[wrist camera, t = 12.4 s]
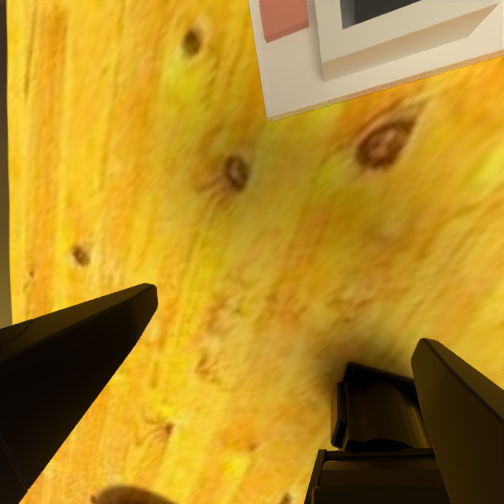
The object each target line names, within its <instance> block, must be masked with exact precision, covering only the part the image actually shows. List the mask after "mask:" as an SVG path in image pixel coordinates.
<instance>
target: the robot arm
mask: <svg viewBox="0 0 504 504" xmlns="http://www.w3.org/2000/svg"><path fill="white" fill-rule="evenodd" d="M157 307H158V297H157V288H156V286H155V285H153V284H148V283H143V284H139V285H136V286H133V287H130V288H127V289H124V290H121V291H118V292H114V293H111V294H108V295H105V296H102V297H99V298H96V299H93V300H90V301H86V302H83V303H80V304H77V305H74V306H71V307H68V308H65V309H61V310H58V311H55V312H52V313H49V314H46V315H43V316H40V317H37V318H35V319H34V320H33V319H30V320H27V321H24V322H21V323H18V324H14V325H11V326H8V327H5V328H2V329H0V504H19V503H20V501H21V500H22V499H23V497H24V496H25V494H26V493H27V492H28V489H29V488H30V487H31V486H32V485H33V483H34V482H35V481H36V479H37V478H38V476H39V475H40V474H41V472H42V471H43V470H44V468H45V467H46V466H47V464H48V463H49V462H50V460H51V459H52V458H53V456H54V455H55V453H56V452H57V451H58V449H59V448H60V447H61V445H62V444H63V443H64V441H65V440H66V439H67V437H68V436H69V435H70V433H71V432H72V430H73V429H74V428H75V426H76V425H77V424H78V422H79V421H80V420H81V418H82V417H83V416H84V414H85V413H86V411H87V410H88V409H89V407H90V406H91V405H92V403H93V402H94V401H95V399H96V398H97V397H98V395H99V394H100V393H101V391H102V390H103V388H104V387H105V386H106V384H107V383H108V382H109V380H110V379H111V378H112V376H113V375H114V374H115V372H116V371H117V370H118V368H119V367H120V365H121V364H122V363H123V361H124V360H125V359H126V357H127V356H128V355H129V353H130V352H131V351H132V349H133V348H134V346H135V345H136V343H137V342H138V340H139V339H140V337H141V335H142V334H143V332H144V330H145V328H146V327H147V325H148V323H149V322H150V320H151V318H152V317H153V315H154V313H155V312H156V310H157ZM411 366H412V371H413V376H414V380H411V379H408V378H404V377H401V376H398V375H394V374H391V373H387V372H384V371H380V370H377V369H373V368H370V367H367V366H363V365H360V364H356V363H352V362H350V363H347V365H346V367H345V371H344V374H343V378H342V381H341V382H338V383H336V387H335V391H334V394H333V398H332V402H331V444H332V446H334V447H336V448H338V451H327V450H326V449H320V450H319V451H318V454H317V458H316V461H315V465H314V468H313V472H312V476H311V479H310V483H309V487H308V490H307V494H306V498H305V501H304V504H504V390H503V389H502V388H500V387H499V386H498V385H496V384H495V383H494V382H492V381H491V380H490V379H488V378H487V377H486V376H484V375H483V374H481V373H480V372H479V371H477V370H476V369H475V368H473V367H472V366H471V365H469V364H468V363H467V362H465V361H464V360H463V359H461V358H460V357H459V356H457V355H456V354H455V353H453V352H452V351H451V350H449V349H448V348H447V347H445V346H444V345H443V344H441V343H440V342H438V341H437V340H433V339H428V338H421V339H420V340H419V342H418V344H417V346H416V348H415V351H414V353H413V355H412V358H411ZM350 368H354V370H351V369H350Z"/></svg>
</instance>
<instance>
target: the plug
mask: <svg viewBox="0 0 504 504" xmlns="http://www.w3.org/2000/svg"><path fill="white" fill-rule="evenodd" d="M418 1H421V0H354V4H355V16H356V25H357V24H359V23H362V22H365V21H367V20H370V19H373V18H375V17H378V16H381V15H383V14H386V13H389V12H391V11H394V10H397V9H399V8H402V7H405V6H408V5H410V4H413V3H416V2H418Z"/></svg>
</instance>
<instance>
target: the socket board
mask: <svg viewBox="0 0 504 504" xmlns="http://www.w3.org/2000/svg"><path fill="white" fill-rule="evenodd" d="M248 1H249V7H250V14H251V20H252V26H253V33H254V39H255V45H256V52H257V58H258V64H259V71H260V77H261V83H262V90H263V96H264V102H265V108H266V115H267V119H268V120H270V121H271V122H272V121H275V120H279V119H282V118H286V117H289V116H293V115H296V114H300V113H303V112H307V111H310V110H314V109H317V108H321V107H324V106H328V105H331V104H335V103H338V102H342V101H345V100H349V99H352V98H356V97H359V96H363V95H366V94H370V93H373V92H377V91H380V90H383V89H387V88H390V87H394V86H397V85H401V84H404V83H408V82H411V81H415V80H418V79H422V78H425V77H429V76H432V75H436V74H439V73H443V72H446V71H450V70H453V69H457V68H460V67H464V66H467V65H471V64H474V63H478V62H481V61H485V60H488V59H492V58H495V57H499V56H502V55H504V0H421V1H418V2H416V3H413V4H410V5H408V6H405V7H402V8H399V9H397V10H394V11H391V12H389V13H386V14H383V15H381V16H378V17H375V18H373V19H370V20H367V21H365V22H362V23H359V24H357V25H356V16H355V4H354V0H248Z"/></svg>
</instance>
